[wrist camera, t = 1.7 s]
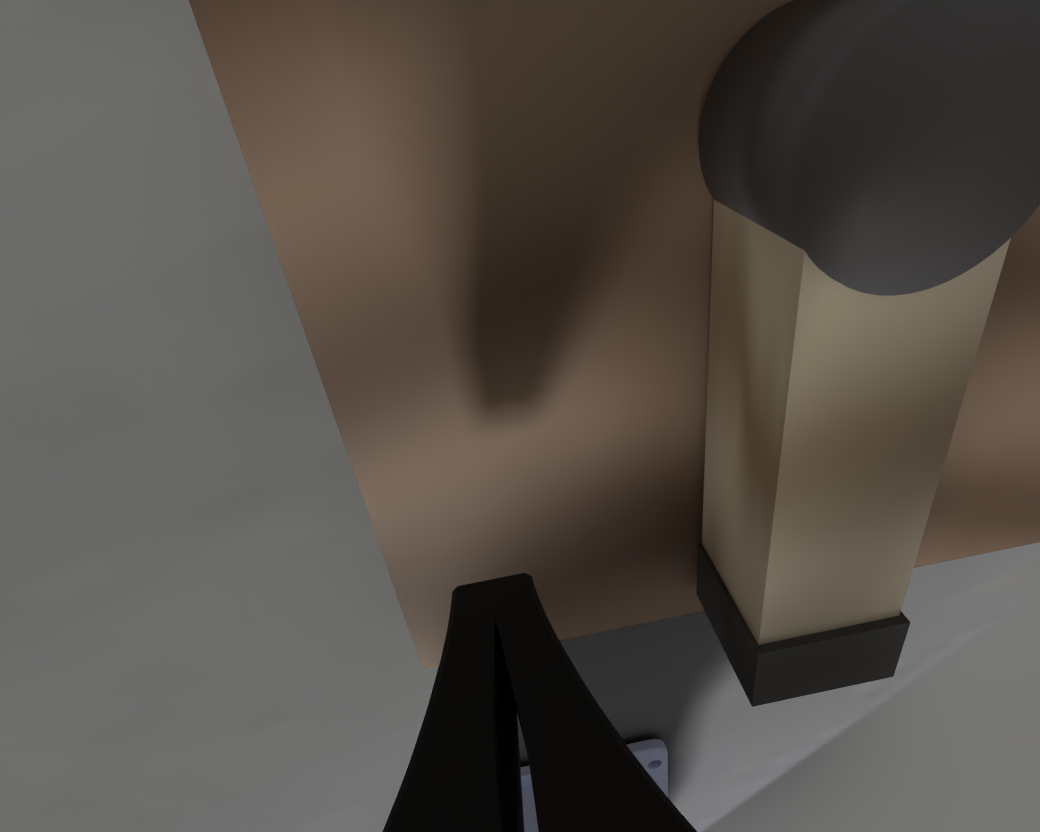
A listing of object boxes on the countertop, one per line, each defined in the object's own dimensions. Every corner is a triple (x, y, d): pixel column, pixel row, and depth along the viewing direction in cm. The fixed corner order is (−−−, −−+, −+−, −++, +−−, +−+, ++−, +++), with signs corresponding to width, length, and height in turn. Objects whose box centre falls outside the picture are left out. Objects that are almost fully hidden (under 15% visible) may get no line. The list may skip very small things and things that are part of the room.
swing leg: (701, 11, 9) (817, 2, 7) (931, -25, 9) (1136, -48, 7) (688, 595, 16) (743, 708, 13) (822, 568, 16) (902, 674, 14)
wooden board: (1001, 506, 19) (1046, 543, 17) (422, 623, 18) (422, 672, 16) (1357, -441, 9) (1525, -526, 8) (124, -281, 8) (65, -344, 7)
